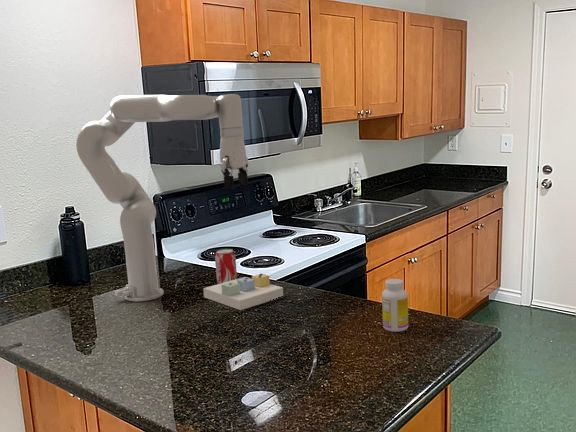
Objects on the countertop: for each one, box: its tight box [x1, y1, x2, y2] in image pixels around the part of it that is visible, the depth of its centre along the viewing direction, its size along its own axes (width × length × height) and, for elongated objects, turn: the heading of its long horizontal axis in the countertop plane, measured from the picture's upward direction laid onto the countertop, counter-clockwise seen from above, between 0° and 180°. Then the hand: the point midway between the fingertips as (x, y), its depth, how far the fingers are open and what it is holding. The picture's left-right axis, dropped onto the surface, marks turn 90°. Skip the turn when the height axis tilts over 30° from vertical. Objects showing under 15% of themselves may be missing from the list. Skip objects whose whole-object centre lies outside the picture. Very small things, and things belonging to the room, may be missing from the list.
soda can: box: [214, 248, 238, 284], centre depth 204 cm, size 7×7×12 cm
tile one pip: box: [221, 282, 240, 297], centre depth 184 cm, size 4×4×4 cm
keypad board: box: [203, 276, 284, 311], centre depth 189 cm, size 17×20×3 cm
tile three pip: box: [251, 273, 271, 288], centre depth 191 cm, size 4×4×4 cm
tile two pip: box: [237, 277, 255, 292], centre depth 187 cm, size 4×4×4 cm
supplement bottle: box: [381, 278, 409, 333], centre depth 154 cm, size 7×7×13 cm
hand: (236, 186), depth 191 cm, fingers open, 9 cm apart
